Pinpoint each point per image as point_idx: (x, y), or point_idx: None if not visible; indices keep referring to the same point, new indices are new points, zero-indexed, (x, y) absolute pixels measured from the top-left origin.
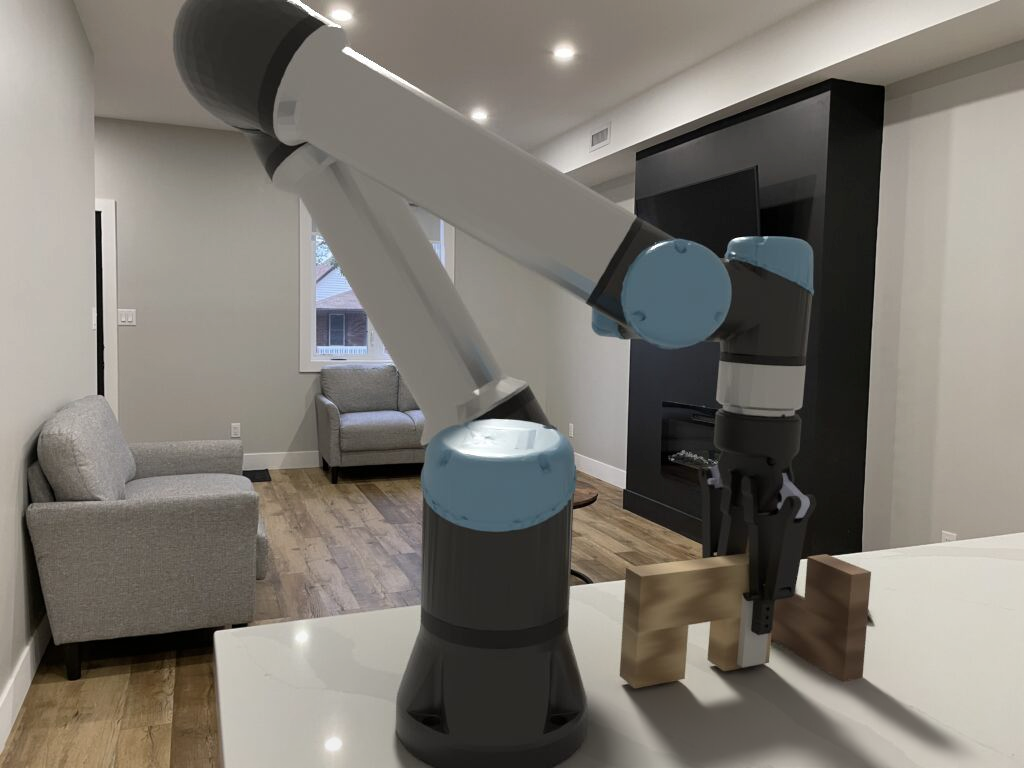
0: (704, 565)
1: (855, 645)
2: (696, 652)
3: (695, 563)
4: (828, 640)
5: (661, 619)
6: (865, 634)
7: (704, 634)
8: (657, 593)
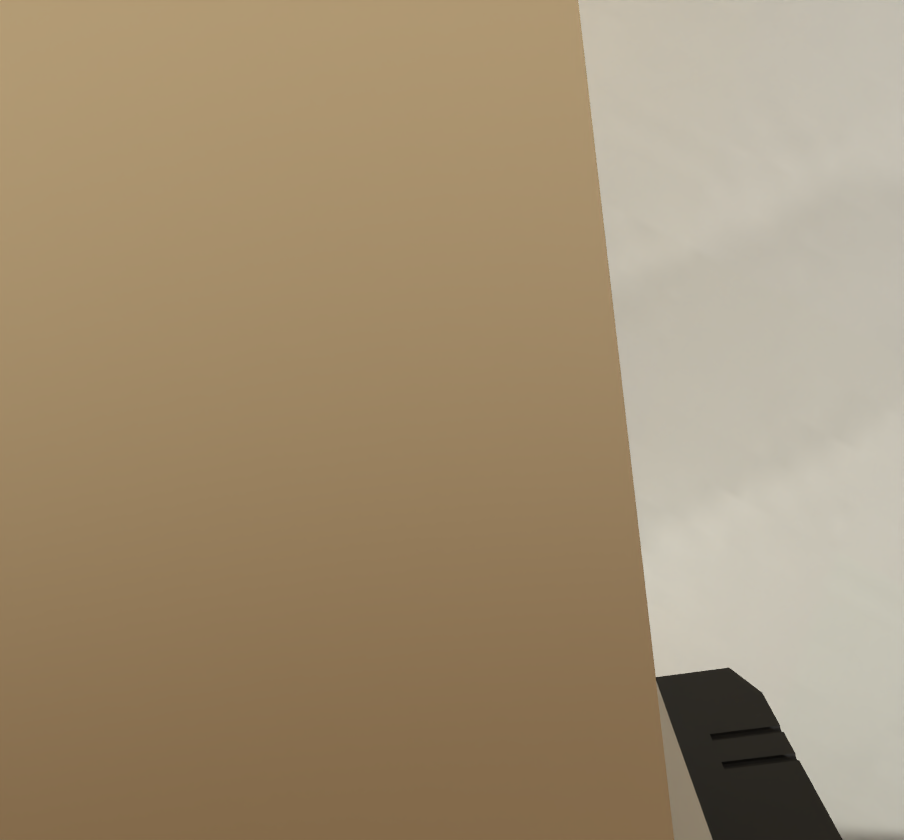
0: (35, 718)
1: None
2: (691, 424)
3: (258, 538)
4: None
5: None
6: None
7: (900, 589)
8: None
